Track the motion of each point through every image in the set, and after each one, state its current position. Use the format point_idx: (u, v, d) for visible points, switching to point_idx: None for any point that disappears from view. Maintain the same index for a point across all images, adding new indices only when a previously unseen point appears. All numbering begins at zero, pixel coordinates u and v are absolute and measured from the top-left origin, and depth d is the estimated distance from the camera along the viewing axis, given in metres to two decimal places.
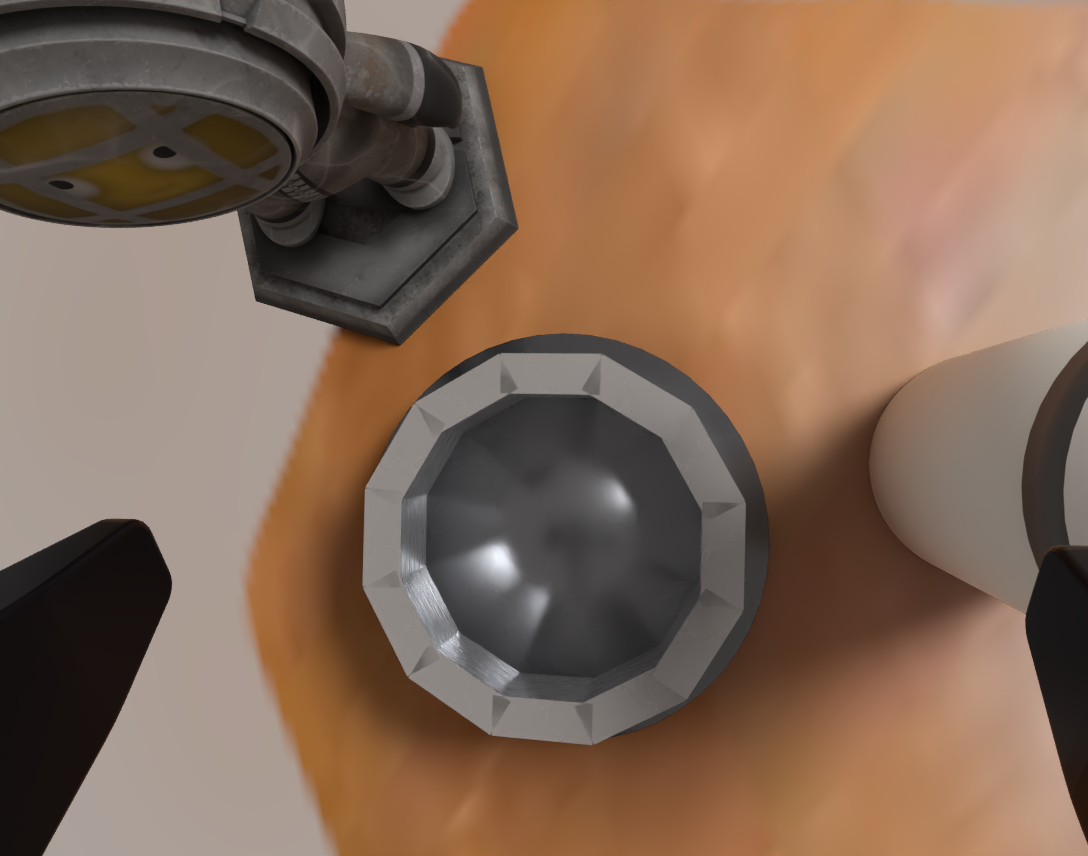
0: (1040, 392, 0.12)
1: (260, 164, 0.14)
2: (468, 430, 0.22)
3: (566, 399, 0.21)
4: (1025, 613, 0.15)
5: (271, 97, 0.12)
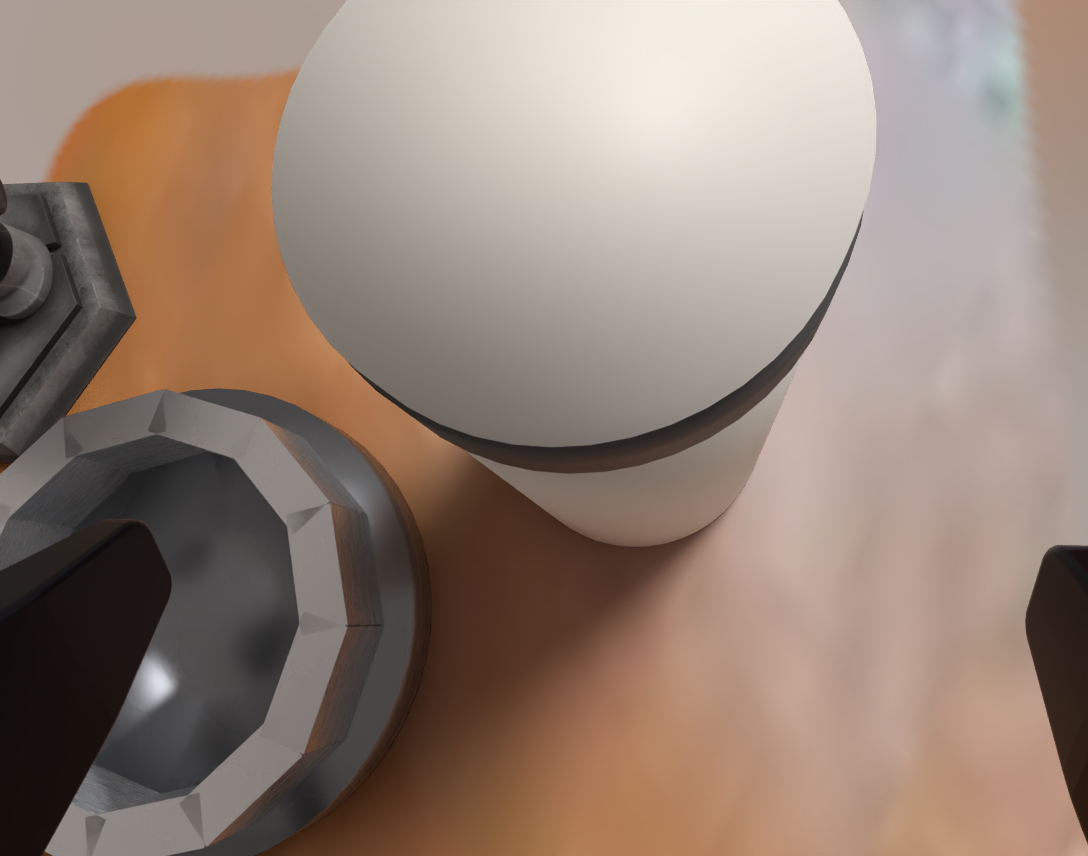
0: None
1: None
2: (78, 523, 0.20)
3: (175, 462, 0.20)
4: (549, 501, 0.13)
5: None
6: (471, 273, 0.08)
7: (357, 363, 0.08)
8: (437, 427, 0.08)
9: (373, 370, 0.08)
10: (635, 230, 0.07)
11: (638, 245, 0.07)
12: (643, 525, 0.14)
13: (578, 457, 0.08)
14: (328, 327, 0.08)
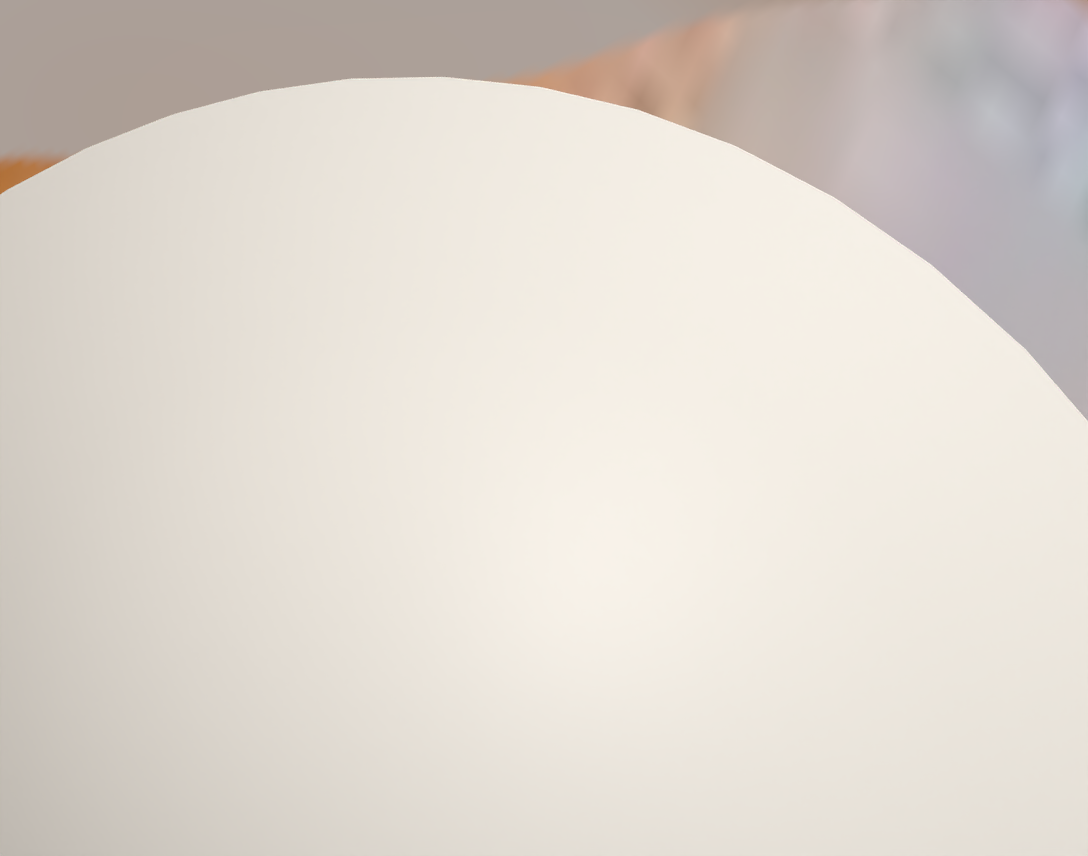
0: None
1: None
2: None
3: None
4: None
5: None
6: None
7: None
8: None
9: None
10: None
11: None
12: None
13: None
14: None
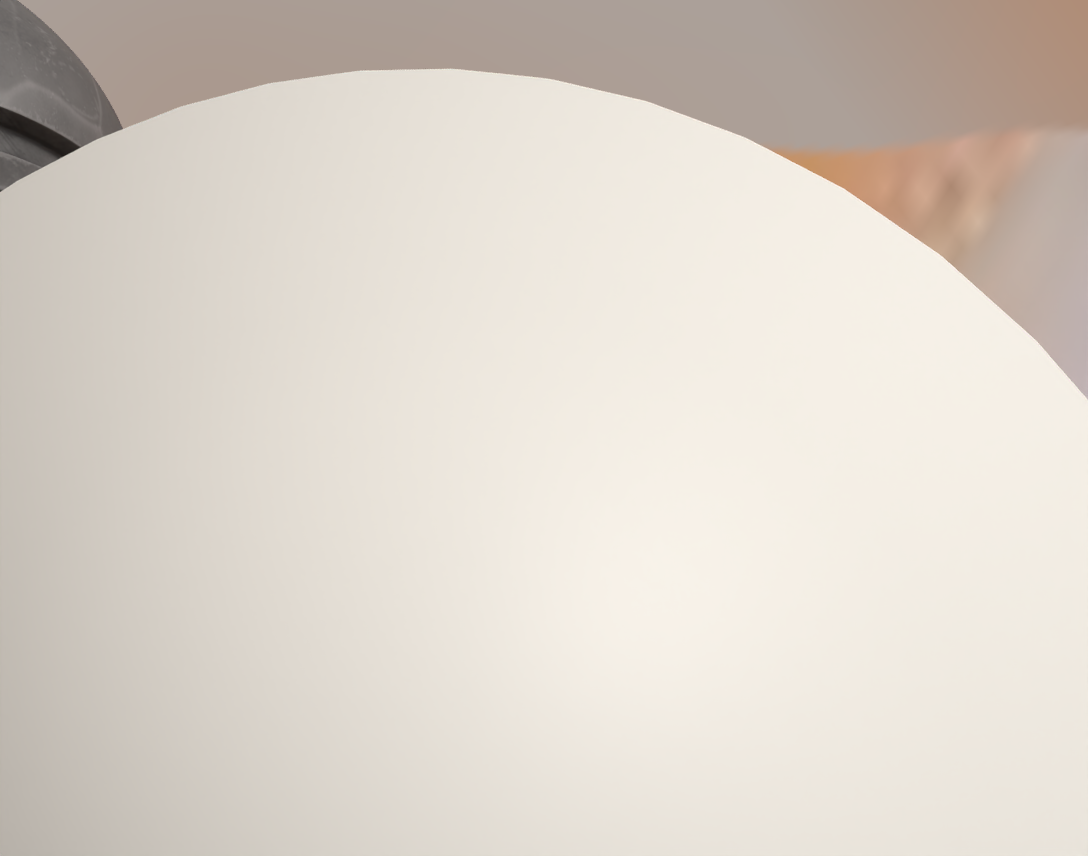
0: None
1: None
2: None
3: None
4: None
5: None
6: None
7: None
8: None
9: None
10: None
11: None
12: None
13: None
14: None
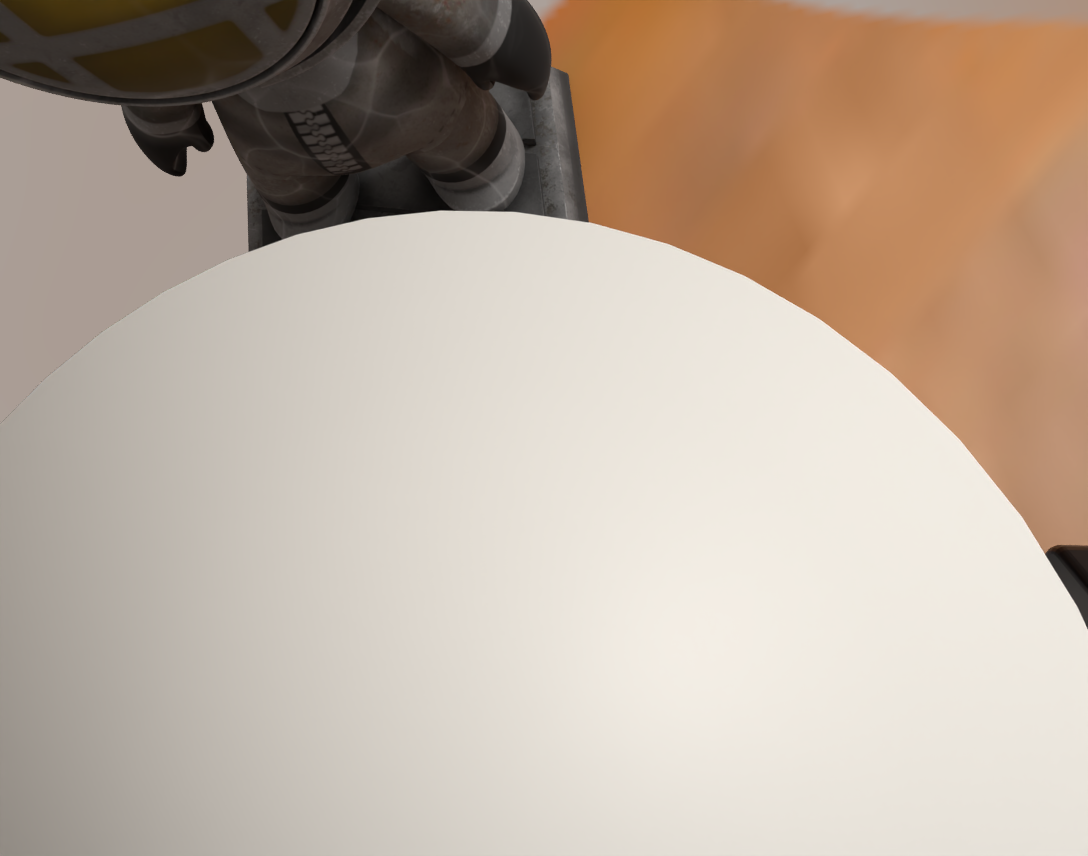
0: None
1: None
2: None
3: None
4: None
5: None
6: None
7: None
8: None
9: None
10: None
11: None
12: None
13: None
14: None
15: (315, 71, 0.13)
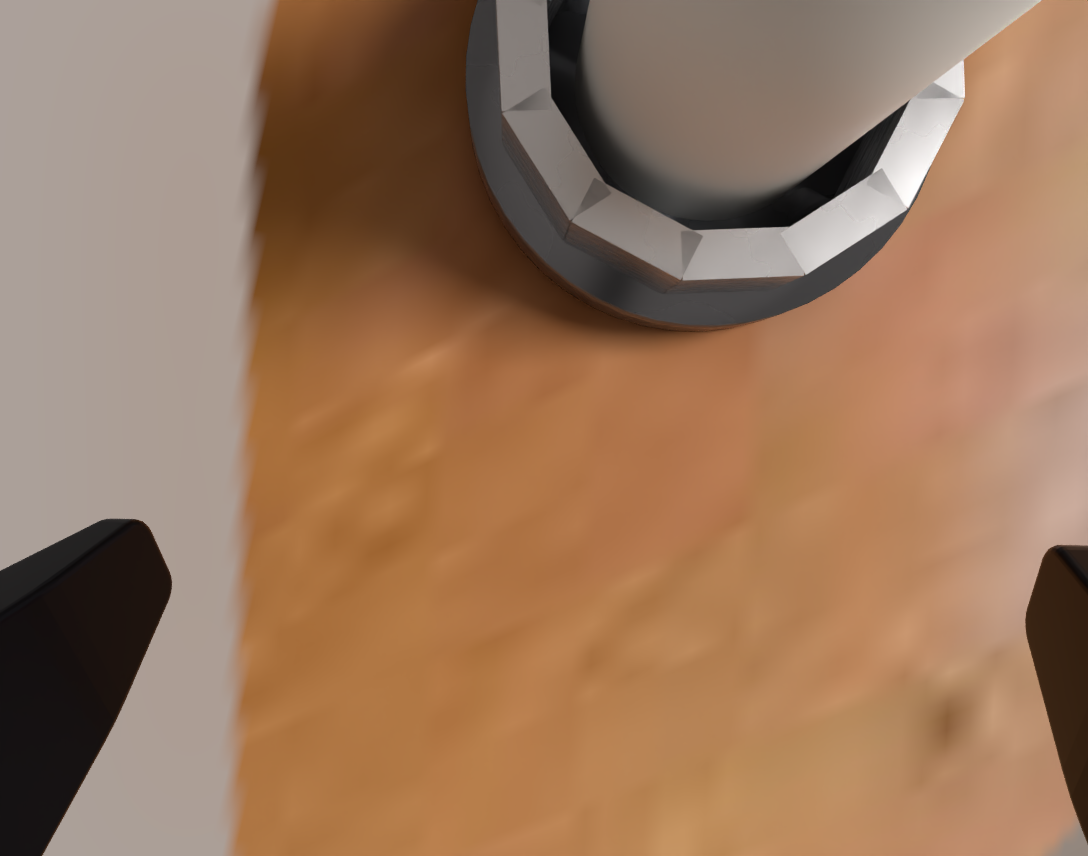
0: None
1: None
2: None
3: None
4: (693, 66, 0.11)
5: None
6: None
7: None
8: None
9: None
10: None
11: None
12: (730, 159, 0.14)
13: None
14: None
15: None
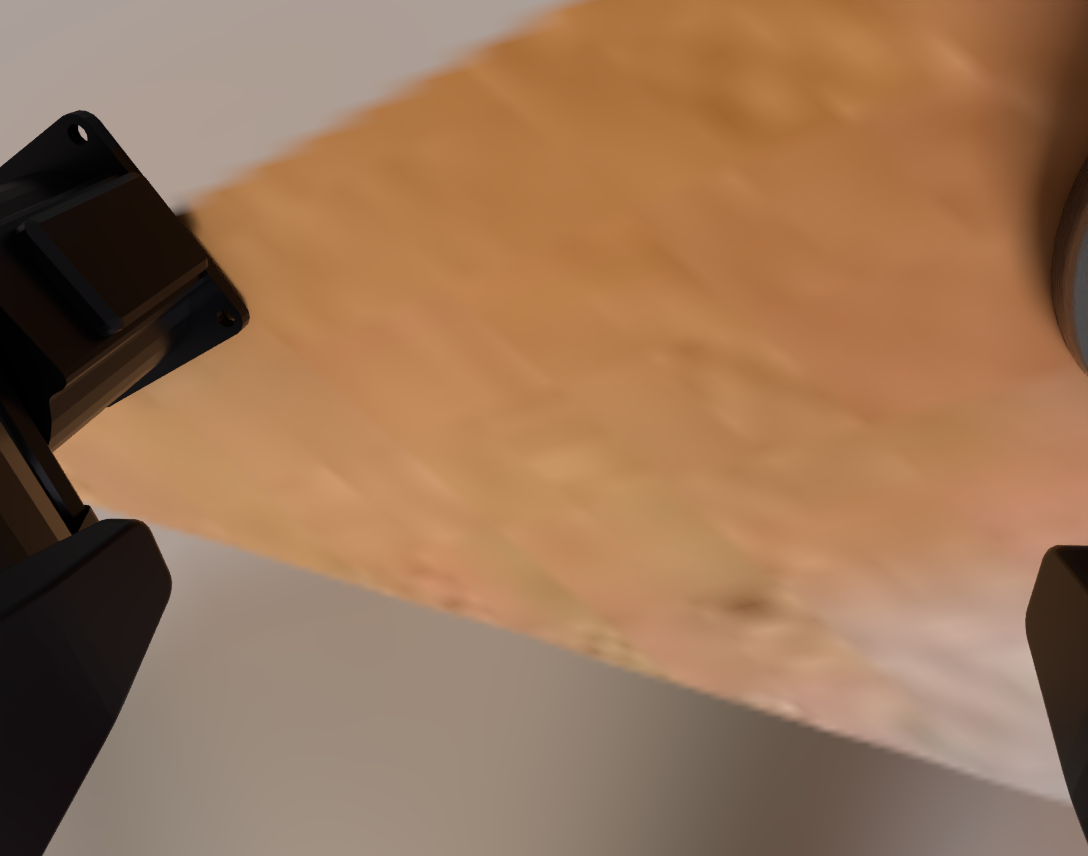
0: None
1: None
2: None
3: None
4: None
5: None
6: None
7: None
8: None
9: None
10: None
11: None
12: None
13: None
14: None
15: None
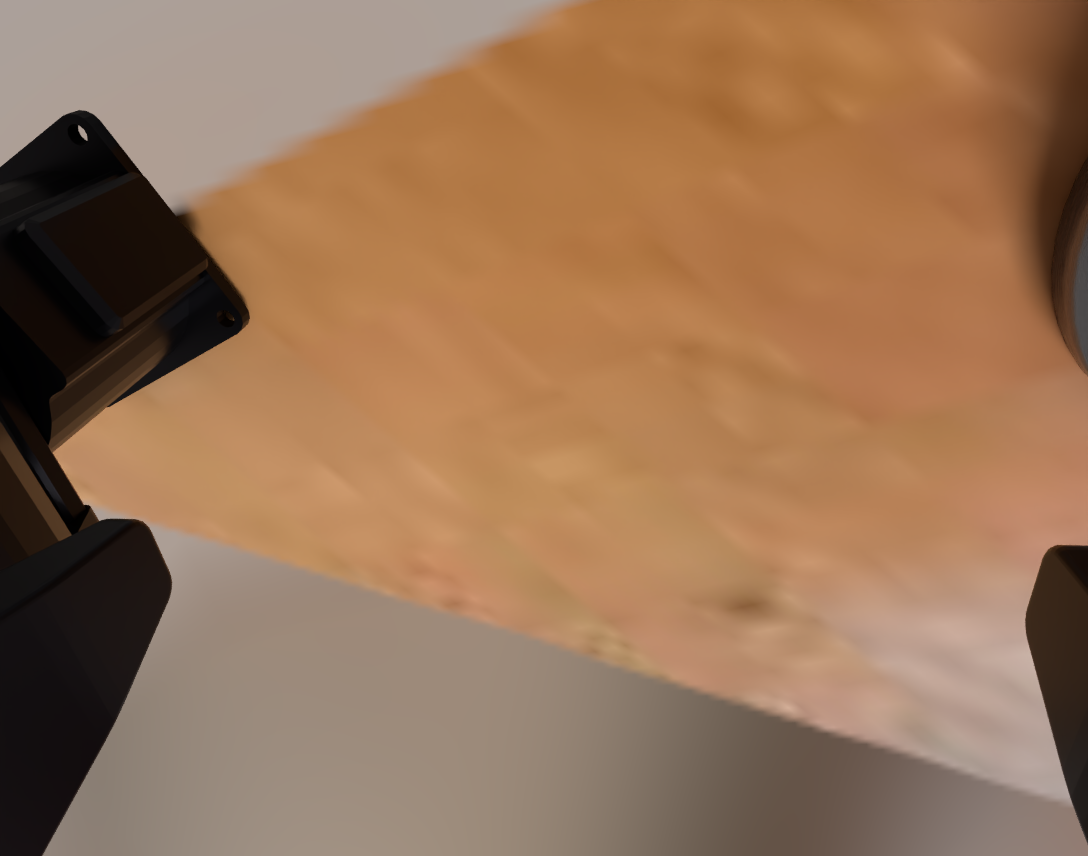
0: None
1: None
2: None
3: None
4: None
5: None
6: None
7: None
8: None
9: None
10: None
11: None
12: None
13: None
14: None
15: None
